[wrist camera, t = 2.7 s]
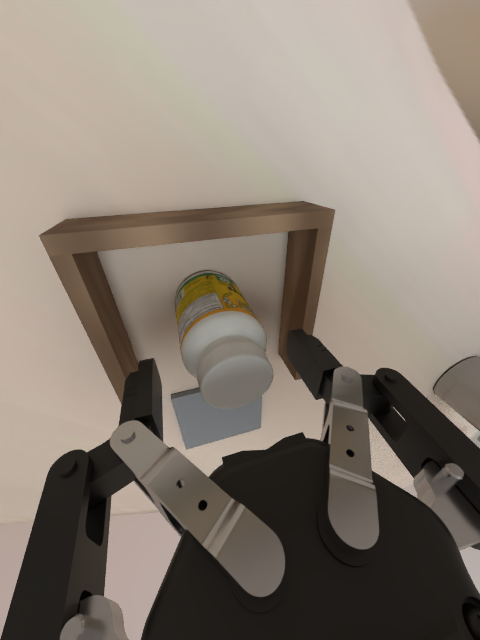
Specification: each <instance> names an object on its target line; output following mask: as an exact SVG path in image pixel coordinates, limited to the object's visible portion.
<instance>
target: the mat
mask: <svg viewBox="0 0 480 640" xmlns="http://www.w3.org/2000/svg"><path fill="white" fill-rule="evenodd" d="M171 400H172V403H173V407H174V410H175V413H176V417H177V420H178V424H179V427H180V430H181V434H182V437H183V440H184V444H185V447H186V450H187V449H190V448H193V447H197V446H200V445H204V444H207V443H211V442H214V441H218V440H221V439H225V438H228V437H231V436H235V435H238V434H242V433H245V432H249V431H252V430H256V429H259V428H261V405H262V396H260V397H259V398H258V399H256V400H255V401H253V402H251V403H249V404H247V405H244V406H241V407H238V408H233V409H221V408H216V407H213V406H211V405H209V404H208V403H206V402H205V401H204V399H203V398H202V396H201V393H200V389H199V388H196V389H192V390H188V391H184V392H180V393H175V394H171Z"/></svg>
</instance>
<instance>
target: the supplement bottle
mask: <svg viewBox="0 0 480 640" xmlns="http://www.w3.org/2000/svg"><path fill="white" fill-rule="evenodd" d="M175 308H176V317H177V324H178V332H179V340H180V348H181V355H182V360H183V363H184V365H185V367H186V369H187V370H188V371H189V372H190V373H191V374H192V375H193V376H194V377H195V378H197V381H198V384H199V389H200V393H201V396H202V398H203V399H204V401H205V402H206V403H208V404H209V405H211V406H213V407H216V408H221V409H233V408H238V407H241V406H244V405H247V404H249V403H251V402H253V401H255V400H256V399H258V398H259V397H260V396H262V395H263V394H264V393H265V392H266V391H267V389H268V388H269V386H270V385H271V382H272V379H273V369H272V366H271V364H270V362H269V360H268V358H267V356H266V354H265V351H266V335H265V332H264V330H263V327H262V326H261V324H260V323H259V321H258V319H257V318H256V316H255V315H254V313H253V312H252V310H251V309H250V307H249V305H248V304H247V302H246V300H245V299H244V297H243V296H242V294H241V292H240V291H239V289H238V288H237V286H236V285H235V283H234V282H233V281H232V280H231V279H230V278H229V277H227V276H225V275H223V274H220V273H218V272H214V271H202V272H199V273H196V274H194V275H192V276H190V277H189V278H187V279H186V280H185V281H184V282H183V283H182V284H181V286H180V287H179V289H178V291H177V294H176V298H175Z"/></svg>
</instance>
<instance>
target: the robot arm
mask: <svg viewBox="0 0 480 640" xmlns="http://www.w3.org/2000/svg"><path fill="white" fill-rule="evenodd" d="M286 353H287V356H288V359H289V360H290V362H291V363H292V365H293V366H294V368H295V369H296V371H297V372H298V374H299V375H300V377H301V378H302V380H303V381H304V383H305V384H306V386H307V387H308V389H309V390H310V392H311V393H312V395H313V396H314V398H315V399H316V400H318V399H321V398H323V399H324V400H325V404H324V414H323V424H322V433H321V438H320V440H316V439H310V438H305V436H304V434H303V432H301V433H298V434H295V435H292V436H289V437H285V438H283V439H282V440H280V441H279V442H277V443H276V444H274V445H273V446H271V447H270V448H268V449H266V450H251V451H241V452H238V453H234V454H231V455H228V456H225V457H222V461H223V464H222V465H221V466H219V467H218V468H217V469H216V470H214V471H213V473H212V474H211V475H210V476H209V477H207V476H206V475H205V474H204V473H203V472H202V471H201V470H199V469H198V468H197V467H196V466H195V465H194V464H193V463H192V462H190V461H189V460H188V459H187V458H186V457H185V456H184V455H183V454H181V453H180V452H179V451H178V450H177V449H175V448H174V447H171V448H169V447H168V446H167V445H165V444H164V443H163V418H162V385H161V379H160V376H159V372H158V369H157V366H156V363H155V360H154V358H151V359H146V360H142V361H139V366H138V371H136V372H131V373H130V374H129V376H128V377H127V379H126V380H125V385H124V392H123V399H122V407H121V414H120V421H119V426H118V427H117V428H116V430H115V431H114V432H113V434H112V436H111V438H110V439H109V440H107V441H106V442H105V443H103V444H101V445H99V446H98V447H96V448H94V449H92V450H90V451H89V452H87V453H86V452H85V451H84V450H73V451H70V452H68V453H66V454H64V455H63V456H61V457H60V458H59V459H58V460H57V461H56V462H55V463H54V464H53V465H52V467H51V468H50V470H49V472H48V475H47V478H46V482H45V485H44V489H43V492H42V496H41V499H40V503H39V506H38V510H37V513H36V517H35V520H34V524H33V527H32V531H31V534H30V538H29V541H28V545H27V548H26V552H25V555H24V559H23V562H22V566H21V569H20V573H19V577H18V580H17V583H16V587H15V590H14V594H13V597H12V601H11V604H10V608H9V611H8V615H7V619H6V622H5V625H4V629H3V632H2V636H1V639H0V640H129V639H128V638H127V635H126V633H125V629H124V621H123V613H122V610H121V608H120V607H119V605H118V604H117V603H116V602H114V601H112V600H110V599H108V598H106V597H104V587H105V574H106V561H107V547H108V534H109V521H110V508H111V495H113V494H114V493H116V492H117V491H119V490H120V489H122V488H123V487H125V486H126V485H128V484H129V483H131V482H132V481H134V482H135V484H136V485H137V486H138V487H139V488H140V489H141V490H142V491H143V493H144V494H145V495H146V496H147V497H148V498H149V499H150V501H151V502H152V503H153V504H154V505H155V506H156V508H157V509H158V510H159V511H160V513H161V514H162V515H163V517H164V518H165V519H166V520H167V521H168V523H169V524H170V525H171V526H172V527H173V528H174V530H175V531H176V532H177V533H178V534H179V535H180V536H181V539H180V541H179V544H178V546H177V548H176V551H175V553H174V556H173V558H172V560H171V563H170V565H169V567H168V570H167V572H166V575H165V577H164V579H163V582H162V584H161V586H160V589H159V591H158V594H157V596H156V598H155V601H154V603H153V606H152V608H151V610H150V613H149V615H148V618H147V620H146V623H145V626H144V629H143V633H142V637H141V640H480V594H479V592H478V590H477V589H476V587H475V585H474V584H473V581H472V579H471V577H470V575H469V574H468V571H467V569H466V567H465V564H464V562H463V560H462V557H461V554H460V552H459V550H462V549H465V548H467V547H470V546H471V547H473V548H475V549H478V550H480V448H479V447H477V446H476V445H475V444H474V443H473V442H472V441H471V440H470V439H469V438H468V437H467V436H466V435H465V434H464V433H463V432H462V431H461V430H459V429H458V428H457V427H456V426H455V425H454V424H453V423H452V422H451V421H450V420H449V419H448V418H447V417H446V416H445V415H444V414H443V413H442V412H440V411H439V410H438V409H437V408H436V407H435V406H434V405H433V404H432V403H431V402H430V401H429V400H428V399H427V398H426V397H425V396H424V395H423V394H421V393H420V392H419V391H418V390H417V389H416V388H415V387H414V386H413V385H412V384H411V383H410V382H409V381H408V380H407V379H406V378H405V377H404V376H402V375H401V374H400V373H399V372H397V371H395V370H393V369H389V368H380V369H378V370H377V371H376V374H375V375H361V374H359V373H358V372H357V371H355V370H353V369H351V368H349V367H343V366H342V365H341V364H340V363H339V361H338V360H337V359H336V358H335V357H334V356H333V355H332V354H331V353H330V352H329V350H327V348H326V347H325V346H323V344H322V343H321V342H320V341H319V339H317V338H316V337H314V336H312V335H307V334H306V333H305V331H304V330H303V329H301V328H299V329H294V330H290V331H289V332H288V338H287V347H286ZM434 393H435V394H436V395H437V396H438V397H440V398H441V399H442V400H443V401H444V402H446V403H447V404H448V405H449V406H450V407H452V408H453V409H454V410H455V411H456V412H457V413H459V414H460V415H461V416H462V417H463V418H465V419H466V420H467V421H468V422H469V423H471V424H472V425H473V426H474V427H475V428H477V429H478V430H479V431H480V358H479V357H472V358H469V359H466V360H464V361H462V362H460V363H458V364H457V365H455V366H454V367H452V368H451V369H450V370H449V371H447V372H446V373H445V374H444V375H443V376H442V377H441V378H440V380H439V381H438V382H437V384H436V386H435V388H434ZM393 407H394V408H395V409H396V410H397V411H398V412H399V413H400V414H401V415H402V417H403V418H404V419H405V421H406V422H405V421H404V420H403V418H402V417H401V416H400V415H399V414H398V413H397V412H396V411H395V409H394V408H393ZM368 418H369V419H370V421H371V422H372V423H373V425H374V426H375V427H376V428H377V430H378V431H379V432H380V434H381V435H382V436H383V438H384V439H385V440H386V442H387V443H388V444H389V446H390V447H391V448H392V450H393V451H394V452H395V454H396V455H397V456H398V458H399V459H400V460H401V462H402V463H403V464H404V466H405V467H406V468H407V470H408V471H409V472H410V474H411V475H412V476H413V478H414V482H413V483H414V487H415V490H416V492H417V497H418V498H416V497H414V496H413V495H411V494H409V493H408V492H406V491H404V490H403V489H401V488H400V487H398V486H396V485H395V484H393V483H391V482H390V481H388V480H386V479H385V478H383V477H382V476H380V475H378V474H377V473H375V472H373V471H372V467H371V453H370V439H369V424H368Z"/></svg>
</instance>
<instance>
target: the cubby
mask: <svg viewBox="0 0 480 640" xmlns="http://www.w3.org/2000/svg"><path fill="white" fill-rule="evenodd" d="M334 213H335V210H334V209H330V208H327V207H323V206H319V205H315V204H312V203H308V202H304V201H301V202H287V203H274V204H261V205H248V206H235V207H222V208H209V209H195V210H182V211H169V212H156V213H143V214H130V215H117V216H103V217H90V218H77V219H65V220H64V221H62V222H60V223H59V224H57V225H56V226H54V227H52V228H51V229H49V230H47V231H46V232H44V233H42V234H41V235H39V237H40V239H41V241H42V243H43V245H44V247H45V249H46V251H47V253H48V255H49V257H50V259H51V261H52V263H53V266H54V268H55V270H56V272H57V274H58V276H59V278H60V280H61V282H62V284H63V286H64V288H65V290H66V292H67V294H68V296H69V298H70V300H71V302H72V304H73V306H74V308H75V310H76V312H77V314H78V316H79V318H80V320H81V323H82V325H83V327H84V329H85V331H86V333H87V335H88V337H89V339H90V341H91V343H92V345H93V347H94V349H95V351H96V353H97V355H98V357H99V359H100V361H101V363H102V365H103V367H104V369H105V371H106V373H107V375H108V378H109V380H110V382H111V384H112V386H113V388H114V390H115V392H116V394H117V396H118V398H119V400H120V402H121V404H122V399H123V392H124V385H125V380H126V379H127V377H128V376H129V374H130V373H131V372H136V371H138V366H139V365H138V362H137V360H136V357H135V354H134V352H133V349H132V346H131V344H130V341H129V338H128V336H127V333H126V330H125V328H124V325H123V322H122V319H121V317H120V314H119V311H118V309H117V306H116V303H115V301H114V298H113V295H112V293H111V290H110V287H109V285H108V282H107V279H106V276H105V274H104V271H103V268H102V266H101V263H100V260H99V258H98V255H97V252H96V251H105V250H115V249H124V248H134V247H143V246H153V245H162V244H172V243H182V242H191V241H201V240H210V239H220V238H230V237H239V236H249V235H258V234H268V233H277V232H287V231H289V235H288V246H287V258H286V270H285V282H284V293H283V305H282V317H281V328H280V340H279V352H278V353H279V355H280V357H281V358H282V360H283V361H284V363H285V365H286V366H287V368H288V369H289V371H290V373H291V374H292V376H293V377H294V379H295V380H298V379H302V378H301V377H300V375H299V374H298V372H297V371H296V369H295V368H294V366H293V365H292V363H291V362H290V360H289V359H288V356H287V353H286V347H287V338H288V332H289V331H290V330H294V329H299V328H301V329H303V330H304V331H305V333H306V334H307V335H312V334H313V328H314V323H315V318H316V312H317V307H318V301H319V296H320V290H321V285H322V279H323V274H324V268H325V263H326V257H327V252H328V246H329V241H330V235H331V230H332V224H333V219H334Z"/></svg>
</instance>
